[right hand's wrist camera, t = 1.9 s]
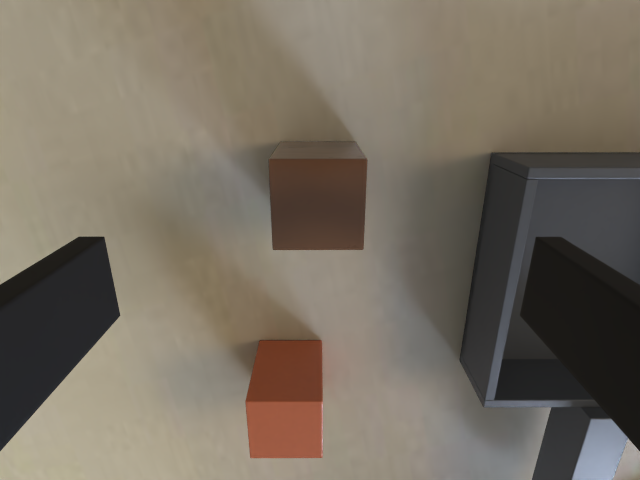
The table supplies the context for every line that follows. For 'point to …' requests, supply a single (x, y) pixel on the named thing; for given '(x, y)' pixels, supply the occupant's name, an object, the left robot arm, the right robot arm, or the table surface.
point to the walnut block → (318, 196)
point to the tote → (509, 286)
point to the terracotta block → (286, 400)
